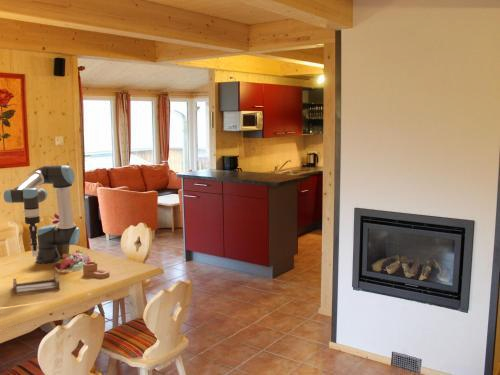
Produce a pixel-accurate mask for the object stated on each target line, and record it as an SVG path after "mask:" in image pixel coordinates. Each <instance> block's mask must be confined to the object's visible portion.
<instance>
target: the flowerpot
mask: <svg viewBox="0 0 500 375" xmlns="http://www.w3.org/2000/svg"><path fill="white" fill-rule="evenodd" d="M53 217H54V218H55V220H53V221H52V225H55V224H58V225H59V224H60V222H59V214H56V213H55V214H54V215H53ZM57 249H58V252H59V254H60V257H62V255H63V254H70V245H57Z"/></svg>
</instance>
